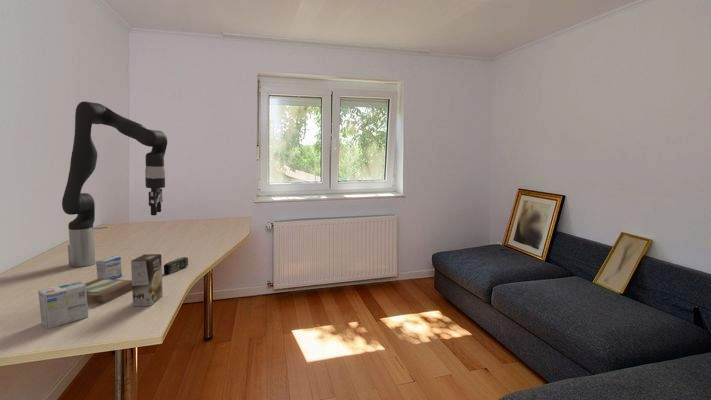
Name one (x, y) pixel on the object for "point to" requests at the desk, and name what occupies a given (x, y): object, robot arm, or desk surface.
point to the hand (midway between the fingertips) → (156, 213)
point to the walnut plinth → (106, 289)
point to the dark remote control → (175, 265)
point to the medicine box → (109, 268)
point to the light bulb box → (63, 304)
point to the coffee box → (146, 279)
